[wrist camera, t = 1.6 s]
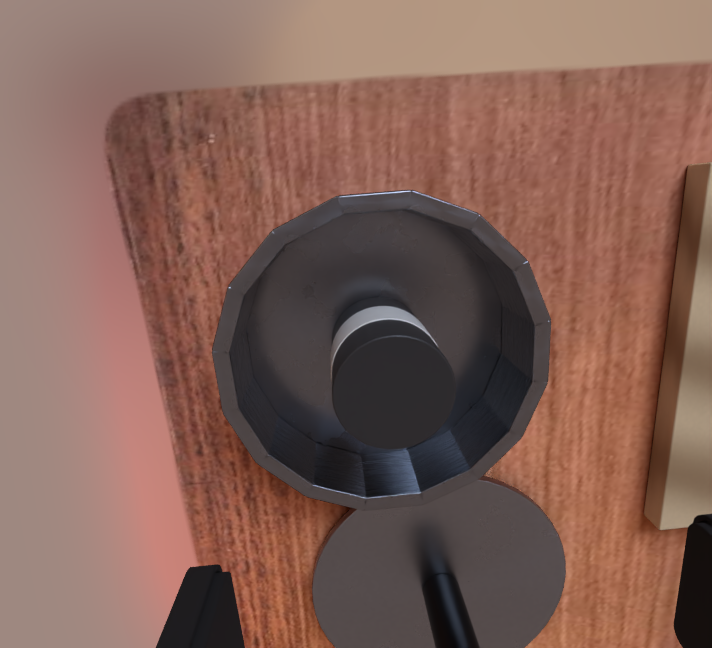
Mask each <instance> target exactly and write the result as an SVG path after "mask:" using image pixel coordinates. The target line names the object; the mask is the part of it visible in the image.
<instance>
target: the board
mask: <svg viewBox="0 0 712 648" xmlns="http://www.w3.org/2000/svg"><path fill="white" fill-rule="evenodd" d="M703 514H712V162H709V163H700V164H690V165H688V169H687V176H686V184H685V192H684V200H683V208H682V216H681V224H680V232H679V240H678V248H677V256H676V263H675V271H674V279H673V287H672V295H671V303H670V311H669V319H668V327H667V335H666V343H665V350H664V358H663V366H662V374H661V382H660V390H659V398H658V406H657V414H656V422H655V429H654V437H653V445H652V453H651V461H650V469H649V477H648V485H647V493H646V501H645V509H644V515H645V516H646V517H647V518H648V519H649V520H650V521H651V522H652V523H653V524H654V525H655V526H656V527H657V528H658V529H659V530H668V529H677V528H686V527H689V525H691V524H693V521H694V518H695V517H696V516H697V515H703Z"/></svg>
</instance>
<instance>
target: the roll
mask: <svg viewBox="0 0 712 648" xmlns="http://www.w3.org/2000/svg"><path fill="white" fill-rule="evenodd" d="M331 381H332V402H333V408H334V411H335V414H336V416H337V418H338V420H339V422H340V423H341V425H342V426H343V427H344V429H345V430H346V431H347V432H348V433H349V434H350V435H352V436H353V437H354V438H355V439H357V440H359V441H360V442H362V443H364V444H366V445H369V446H372V447H375V448H380V449H402V448H407V447H411V446H414V445H416V444H419V443H421V442H423V441H425V440H426V439H428V438H429V437H431V436H432V435H434V434H435V433H436V432H437V431H438V430H439V429H440V428H441V427H442V426H443V424H444V423H445V422H446V420H447V419H448V417H449V415H450V413H451V411H452V408H453V405H454V401H455V396H456V381H455V377H454V373H453V370H452V368H451V366H450V364H449V362H448V360H447V359H446V357H445V356H444V355H443V353H442V352H441V351H440V349H439V347H438V346H437V344H436V342H435V341H434V339H433V338H432V337H431V335H430V334H429V333H428V331H427V330H426V329H425V327H424V326H423V325H422V323H421V322H420V321H419V320H418V319H417V318H416V317H415V315H414V314H413V313H412V312H411V311H410V310H409V309H408V308H407V307H406V306H405V305H403V304H402V303H400V302H398V301H396V300H393V299H390V298H384V297H372V298H367V299H363V300H361V301H358V302H356V303H354V304H353V305H351V306H350V307H349V308H347V309H346V310H345V311H344V312H343V313H342V314H341V316H340V317H339V319H338V320H337V322H336V324H335V327H334V329H333V333H332V347H331Z"/></svg>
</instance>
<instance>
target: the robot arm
mask: <svg viewBox="0 0 712 648" xmlns="http://www.w3.org/2000/svg"><path fill="white" fill-rule="evenodd" d="M674 630H675V633H676V636H677V638H678V640H679V642H680V644H681V645H682V647H683V648H712V514H703V515H697V516H696V517H695V518H694V521H693V524H691V525H689V527H688V531H687V538H686V545H685V552H684V558H683V565H682V572H681V579H680V585H679V592H678V599H677V606H676V612H675V619H674ZM156 648H245V646H244V640H243V635H242V630H241V625H240V619H239V614H238V609H237V604H236V598H235V593H234V588H233V582H232V577H231V573H230V572H222V569H221V566H220V565H208V566H198V567H190V568H189V569H188V571H187V572H186V574H185V577H184V579H183V582H182V584H181V587H180V589H179V592H178V594H177V597H176V599H175V601H174V604H173V607H172V609H171V611H170V614H169V617H168V619H167V621H166V624H165V626H164V629H163V631H162V634H161V636H160V639H159V641H158V644H157V646H156Z"/></svg>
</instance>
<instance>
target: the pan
mask: <svg viewBox="0 0 712 648" xmlns="http://www.w3.org/2000/svg"><path fill="white" fill-rule="evenodd" d="M372 297H384V298H390V299H393V300H396V301H398V302H400V303H402V304H403V305H405V306H406V307H407V308H408V309H409V310H410V311H411V312H412V313H413V314H414V315H415V317H416V318H417V319H418V320H419V321H420V322H421V323H422V325H423V326H424V327H425V329H426V330H427V331H428V333H429V334H430V335H431V337H432V338H433V339H434V341H435V342H436V344H437V346H438V347H439V349H440V351H441V352H442V353H443V355H444V356H445V357H446V359H447V360H448V362H449V364H450V366H451V368H452V370H453V373H454V377H455V381H456V396H455V401H454V405H453V408H452V411H451V413H450V415H449V417H448V419H447V420H446V422H445V423H444V424H443V426H442V427H441V428H440V429H439V430H438V431H437V432H436V433H435V434H434V435H432V436H431V437H429V438H428V439H426V440H425V441H423V442H421V443H419V444H416V445H414V446H411V447H407V448H402V449H380V448H375V447H372V446H369V445H366V444H364V443H362V442H360V441H359V440H357V439H355V438H354V437H353V436H352V435H350V434H349V433H348V432H347V431H346V430H345V429H344V427H343V426H342V425H341V423H340V422H339V420H338V418H337V416H336V414H335V411H334V408H333V402H332V381H331V347H332V333H333V329H334V327H335V324H336V322H337V320H338V319H339V317H340V316H341V314H342V313H343V312H344V311H345V310H346V309H347V308H349V307H350V306H351V305H353V304H354V303H356V302H358V301H361V300H363V299H367V298H372ZM550 320H551V318H550V316H549V313H548V311H547V308H546V306H545V303H544V300H543V298H542V295H541V293H540V290H539V288H538V285H537V282H536V280H535V277H534V275H533V272H532V270H531V267H530V264H529V262H528V261H527V259H526V258H525V257H524V256H523V255H522V254H521V253H520V252H519V251H518V250H517V249H515V248H514V247H513V246H512V245H511V244H510V243H509V242H508V241H507V240H506V239H505V238H504V237H503V236H502V235H501V234H500V233H499V232H498V231H497V230H496V229H495V228H494V227H493V226H492V225H491V224H490V223H488V222H487V221H486V220H485V219H484V218H483V217H482V216H481V215H480V214H478V213H477V212H474V211H471V210H468V209H465V208H462V207H460V206H457V205H454V204H451V203H448V202H445V201H442V200H440V199H437V198H434V197H431V196H428V195H425V194H423V193H420V192H417V191H414V190H401V191H388V192H375V193H363V194H350V195H339V196H336V197H334V198H332V199H330V200H328V201H326V202H324V203H322V204H321V205H319V206H317V207H315V208H313V209H311V210H309V211H307V212H305V213H304V214H302V215H300V216H298V217H296V218H294V219H292V220H290V221H289V222H287V223H285V224H283V225H281V226H279V227H277V228H275V229H273V231H271V232H270V233H269V235H268V236H267V237H266V239H265V240H264V241H263V242H262V244H261V245H260V246H259V247H258V249H257V250H256V251H255V252H254V254H253V255H252V256H251V257H250V259H249V260H248V261H247V263H246V264H245V265H244V266H243V268H242V269H241V270H240V271H239V273H238V274H237V275H236V276H235V278H234V279H233V280H232V281H231V283H230V284H229V287H228V288H227V292H226V296H225V300H224V304H223V308H222V312H221V316H220V320H219V323H218V327H217V331H216V335H215V339H214V343H213V347H212V356H213V361H214V367H215V372H216V378H217V383H218V389H219V395H220V400H221V406H222V411H223V414H224V416H225V417H226V419H227V420H228V422H229V423H230V425H231V426H232V428H233V429H234V431H235V432H236V434H237V435H238V437H239V438H240V440H241V441H242V443H243V444H244V446H245V447H246V449H247V450H248V452H249V453H250V455H251V456H252V458H253V459H254V461H255V462H256V463H257V464H258V465H260V466H261V467H263V468H264V469H266V470H267V471H269V472H270V473H272V474H273V475H275V476H276V477H277V478H279V479H280V480H282V481H283V482H285V483H286V484H288V485H289V486H291V487H292V488H294V489H295V490H297V491H298V492H300V493H301V494H303V495H304V496H307V497H308V498H313V499H317V500H321V501H325V502H329V503H333V504H338V505H342V506H346V507H350V508H354V509H359V510H363V511H364V510H365V511H370V510H380V509H390V508H399V507H409V506H419V505H425V504H427V503H429V502H432V501H434V500H436V499H438V498H440V497H442V496H445V495H447V494H449V493H451V492H453V491H455V490H458V489H460V488H462V487H464V486H466V485H468V484H470V483H473V482H475V481H477V480H478V479H480V478H481V477H482V476H483V475H484V474H485V473H486V472H487V471H488V470H489V469H490V468H491V467H492V466H493V465H494V464H495V463H496V462H497V461H498V460H499V459H501V458H502V457H503V456H504V455H505V454H506V453H507V452H508V451H509V450H510V449H511V448H512V447H513V446H514V445H515V444H516V443H517V442H518V441H519V440H520V439H521V438H522V436H523V434H524V432H525V430H526V428H527V426H528V424H529V422H530V419H531V417H532V415H533V413H534V411H535V409H536V407H537V405H538V402H539V400H540V398H541V396H542V394H543V392H544V390H545V388H546V385H547V382H548V373H549V353H550V332H551V321H550Z"/></svg>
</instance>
